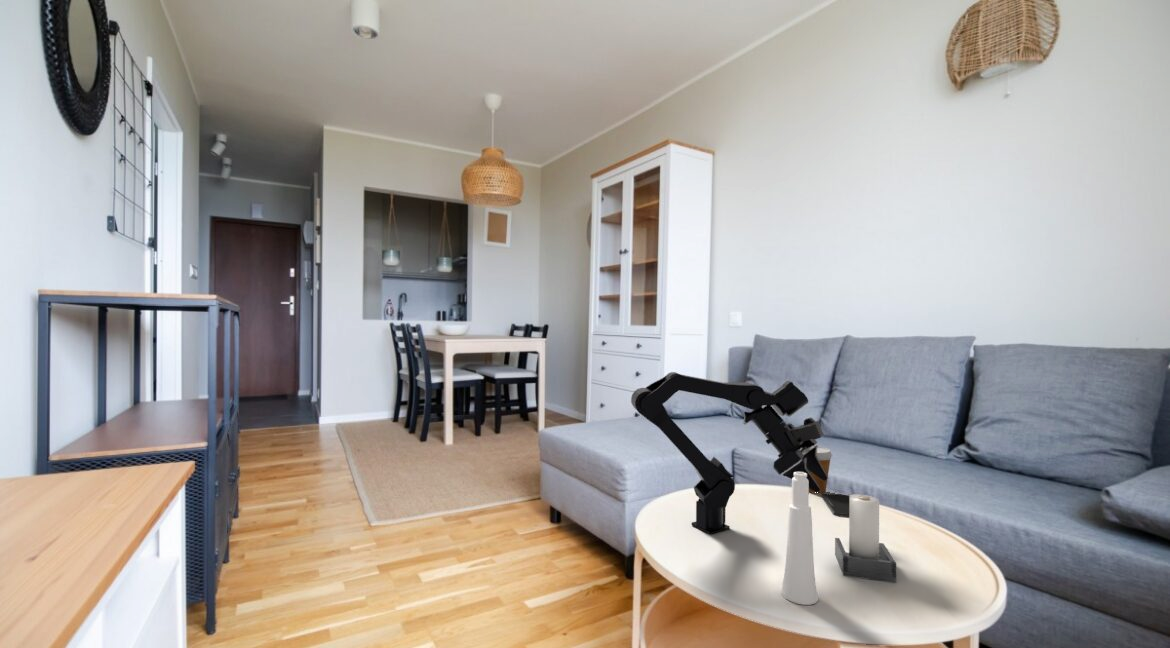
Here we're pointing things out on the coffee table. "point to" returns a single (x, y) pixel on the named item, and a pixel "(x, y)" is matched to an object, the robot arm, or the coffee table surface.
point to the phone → (837, 504)
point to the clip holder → (866, 564)
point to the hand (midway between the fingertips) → (822, 485)
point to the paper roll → (863, 526)
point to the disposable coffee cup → (824, 458)
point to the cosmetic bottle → (800, 546)
